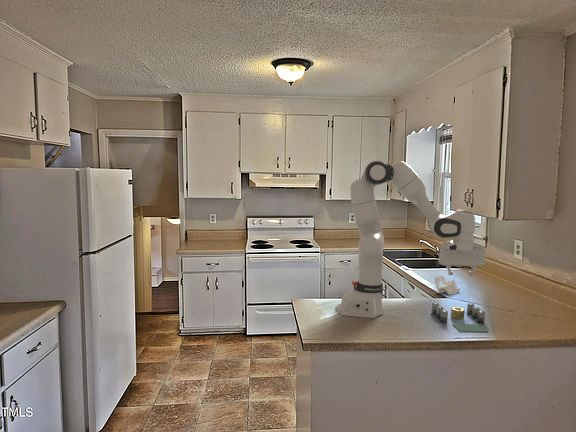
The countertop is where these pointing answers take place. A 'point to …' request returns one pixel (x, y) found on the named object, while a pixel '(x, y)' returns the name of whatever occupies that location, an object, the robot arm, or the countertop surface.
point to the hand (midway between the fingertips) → (460, 275)
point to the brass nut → (457, 313)
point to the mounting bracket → (446, 286)
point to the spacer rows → (471, 311)
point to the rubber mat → (469, 328)
